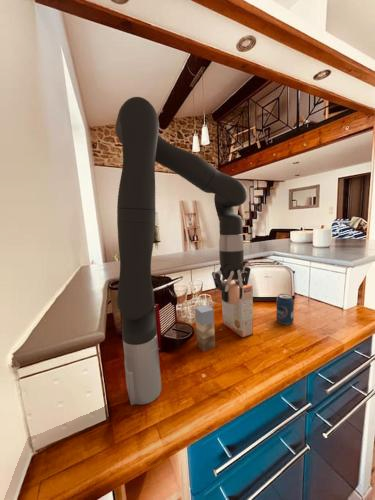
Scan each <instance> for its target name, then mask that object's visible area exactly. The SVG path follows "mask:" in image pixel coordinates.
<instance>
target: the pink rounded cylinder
mask: <svg viewBox="0 0 375 500" xmlns="http://www.w3.org/2000/svg"><path fill="white" fill-rule="evenodd" d="M228 296H229V302H227V304H238V303H239V302H240V294H239V285H238V284H235V283H231V284H230V285H229V288H228Z"/></svg>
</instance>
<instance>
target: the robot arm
mask: <svg viewBox="0 0 375 500" xmlns="http://www.w3.org/2000/svg"><path fill="white" fill-rule="evenodd" d="M159 121H160V120H159V116H158V113H157V111H156V109H155V107H154V106H153V104H152V103H151V102H150V101H149V100H147V99H146V98H144V97H141V96H132V97H130V98H128V99H127V100H126V101H124V102H123V104H122V105H121V107H120V108H119V111H118V114H117V118H116V121H115V125H114V127H115V135H116V137H117V139H118V141H119V142H120V143H121V144H122V146H121V147H122V168H121V174H120V181H119V186H118V194H117V204H116V205H117V206H116V209H117V210H116V214H117V215H116V217H117V219H116V224H117V226H116V227H117V242H118V254H119V275H118V277H119V278H118V285H117V286H118V288H117V295H116V306H117V308H118V310H119V313H120V314H121V335H122V345H123V353H124V360H123V362H124V363H123V364H124V374H125V381H126V383H125V384H126V390H127V391H126V392H127V393H128V398H129V402H130V406H134V405H147V404H150V403H152V402H153V401H155V400H156V399H157V398H158V397H159V396H160V394H161V393H162V378H161V367H160V354H159V353H160V352H159V343H158V330H157V329H158V328H157V314H156V307H155V306H156V305H155V293H154V292H155V291H154V287H153V285H152V284H153V283H152V255H153V249H154V242H155V230H156V170H155V169H156V168H155V167H156V163H157V164H159V165H160V166H162V167H165V168H167V170H170V171H172V172H173V173H175V174H177V175H178V176H180V177H181V178H183V179H184V180H186V181H187V182H189V183H190V184H191V185H193V186H195V187H196V188H198V189H199V190H200V191H202V192H204V193H207V194H214V199H213V200H214V206H215V207H214V208H215V210H216V216H217V218H218V221H219V223H218V225H219V238H218V239H219V240H218V249H219V250H218V252H219V257H218V258H219V264H220V267H219V269H218V270H217V271H212V273H211V276H212V280H213V282H214V286H215V288H216V290H218V291H221V301H222V300H223V301H224V302H226V303H227V302H229V296H228V288H229V285H230V284H231V281H232V280H234V281H235V284H238V285H239V294H240V299H241V298H242V288H243V286H245V285H247V284H249V280H250V274H251V270H252V269H251V267H248V266H244V265H243V264H244V262H245V261H244V260H245V259H244V257H245V256H244V253H245V252H244V249H245V248H244V236H243V218H242V216H241V215H239V214H236V212H235V207H239V206H241V205H243V204H244V203H245V202H246V200H247V198H248V191H247V187H245V185H244V184H243V182H241V181H240V180H238V179H236V178H235V177H233V176H230V175H228V174H226V173H224V172H221V171H219V170H218V169H216V168H215V167H214V166H213V165H212V164H210V163H209V162H207V161H206V160H205V159H203V158H202V157H200V156H198V155H197V154H195V153H192V152H189V151H188V150H185V149H182V148H179V147H177V146H175V145H173V144H171V142H168V141H167V140H165V139H164V138H163V137H161V136H160V135H159V132H160V122H159ZM226 280H227V281H226Z"/></svg>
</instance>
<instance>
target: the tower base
mask: <svg viewBox="0 0 375 500" xmlns="http://www.w3.org/2000/svg"><path fill="white" fill-rule="evenodd" d="M196 345H197V346H198V347H199V349H200V350H202V352H206V351H210V350H212V349H215V348H216V336H215V335H213V336H210V337H207V338H204V339H202V338H201V337H200V336H199V335H198V334H197V333H196Z"/></svg>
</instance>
